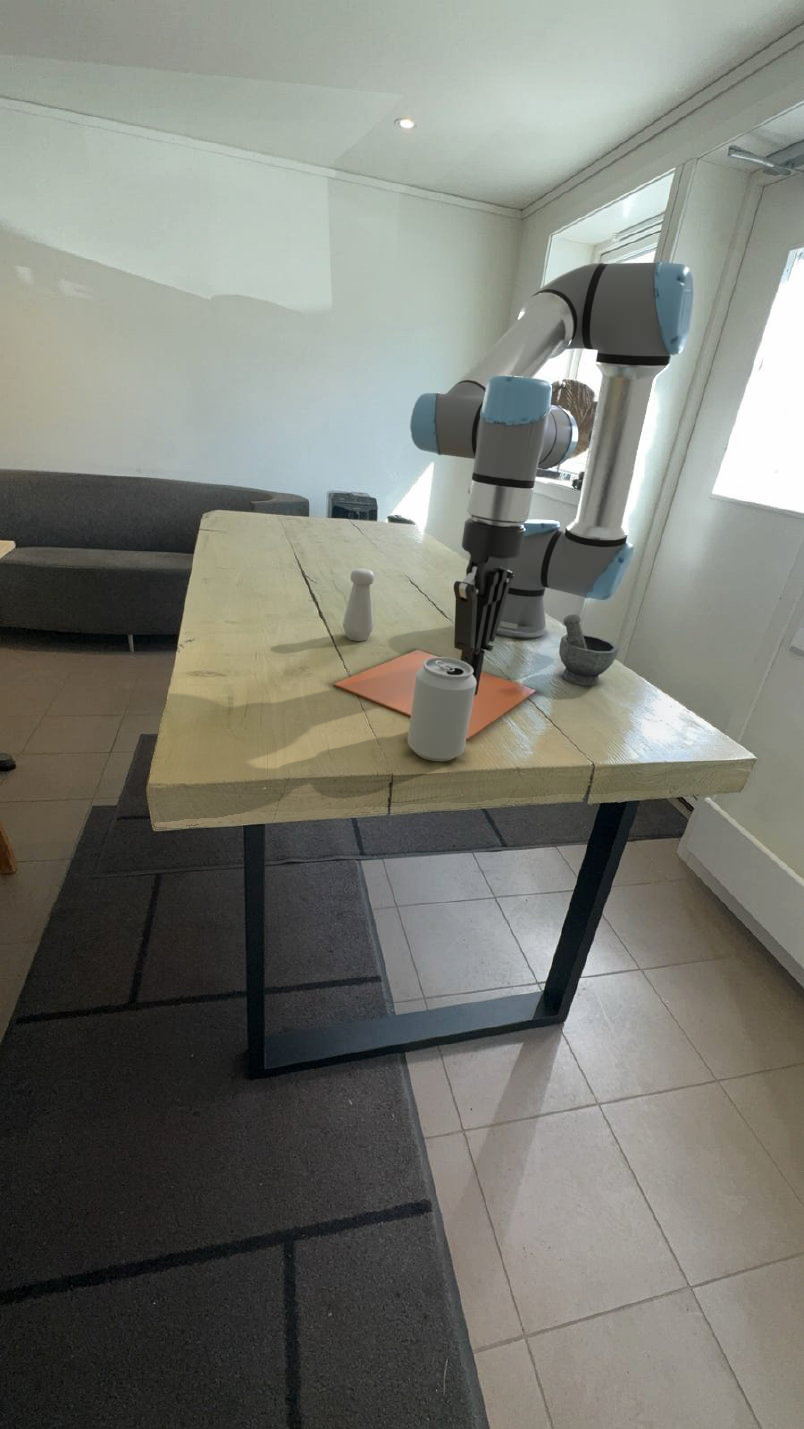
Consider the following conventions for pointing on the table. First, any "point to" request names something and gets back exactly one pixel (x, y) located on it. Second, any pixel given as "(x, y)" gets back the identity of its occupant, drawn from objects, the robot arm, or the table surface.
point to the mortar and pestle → (584, 654)
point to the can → (441, 708)
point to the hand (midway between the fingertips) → (466, 692)
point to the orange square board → (398, 683)
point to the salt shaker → (359, 606)
